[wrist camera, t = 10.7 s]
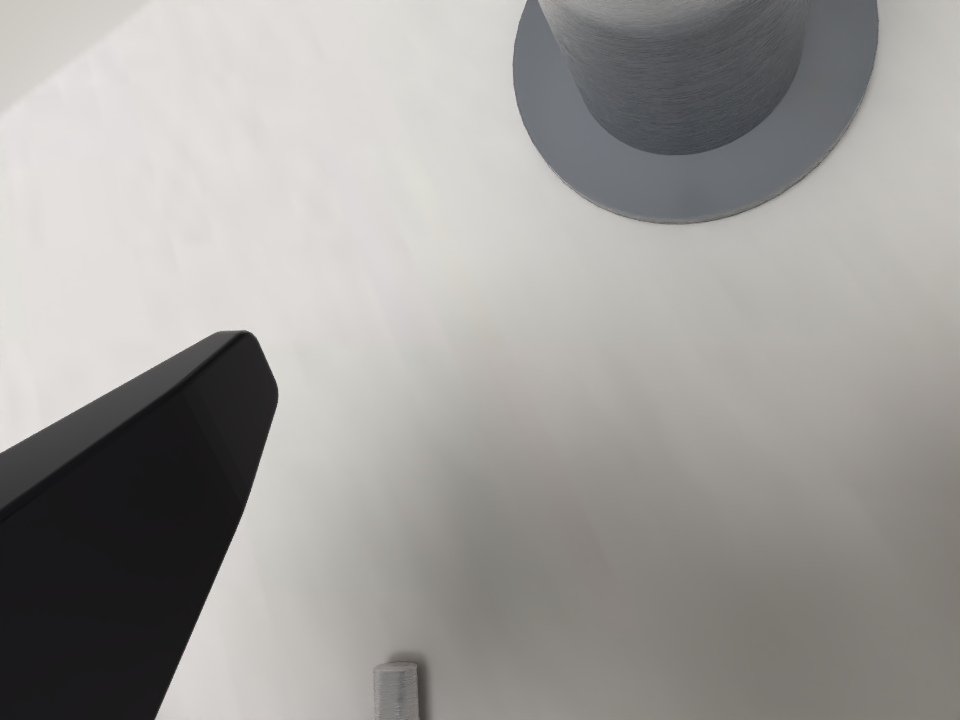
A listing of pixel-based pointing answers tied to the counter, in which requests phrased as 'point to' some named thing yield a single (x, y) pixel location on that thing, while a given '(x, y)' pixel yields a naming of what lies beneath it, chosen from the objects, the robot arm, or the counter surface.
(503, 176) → the counter surface
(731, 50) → the grey cylindrical piece
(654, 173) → the coaster
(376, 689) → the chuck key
